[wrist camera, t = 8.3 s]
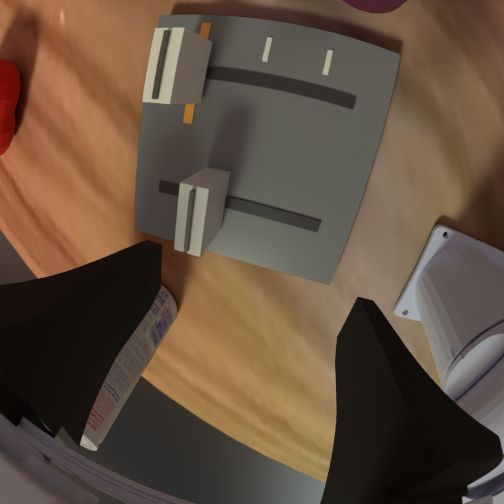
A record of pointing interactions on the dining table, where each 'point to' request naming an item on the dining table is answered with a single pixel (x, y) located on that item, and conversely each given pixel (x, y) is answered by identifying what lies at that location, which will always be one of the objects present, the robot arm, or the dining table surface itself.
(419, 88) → the dining table surface
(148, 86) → the fader tab
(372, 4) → the cup
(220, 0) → the dining table surface
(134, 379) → the beverage can
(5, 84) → the tomato
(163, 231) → the console
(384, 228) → the dining table surface
